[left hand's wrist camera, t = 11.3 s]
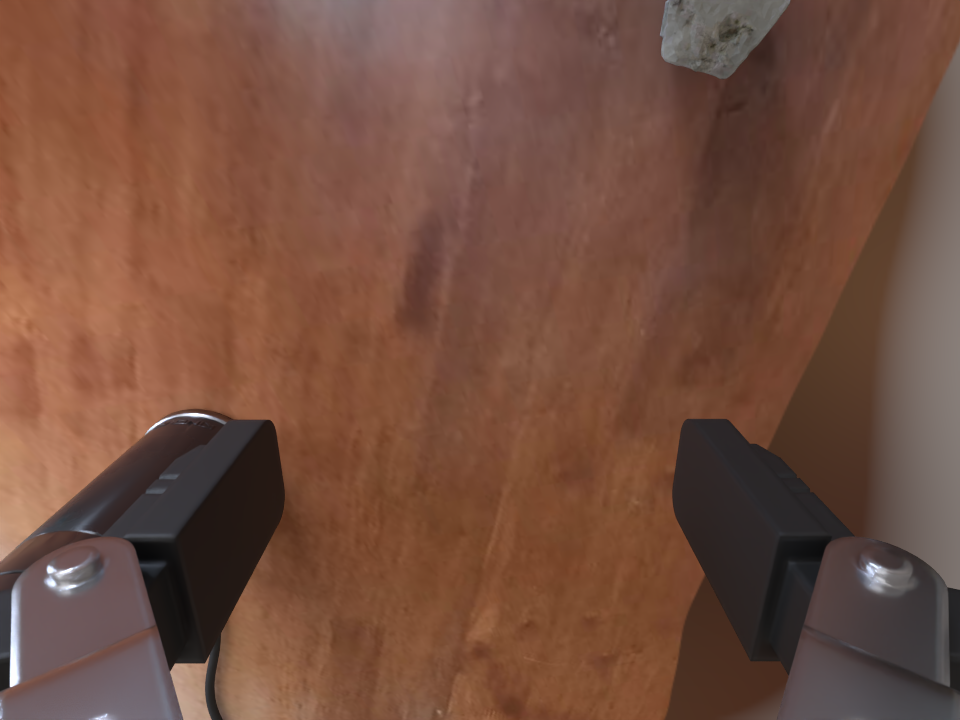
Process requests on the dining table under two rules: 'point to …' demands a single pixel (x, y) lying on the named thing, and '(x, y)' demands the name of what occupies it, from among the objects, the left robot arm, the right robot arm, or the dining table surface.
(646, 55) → the dining table surface
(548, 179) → the dining table surface
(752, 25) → the mineral specimen
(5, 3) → the dining table surface
